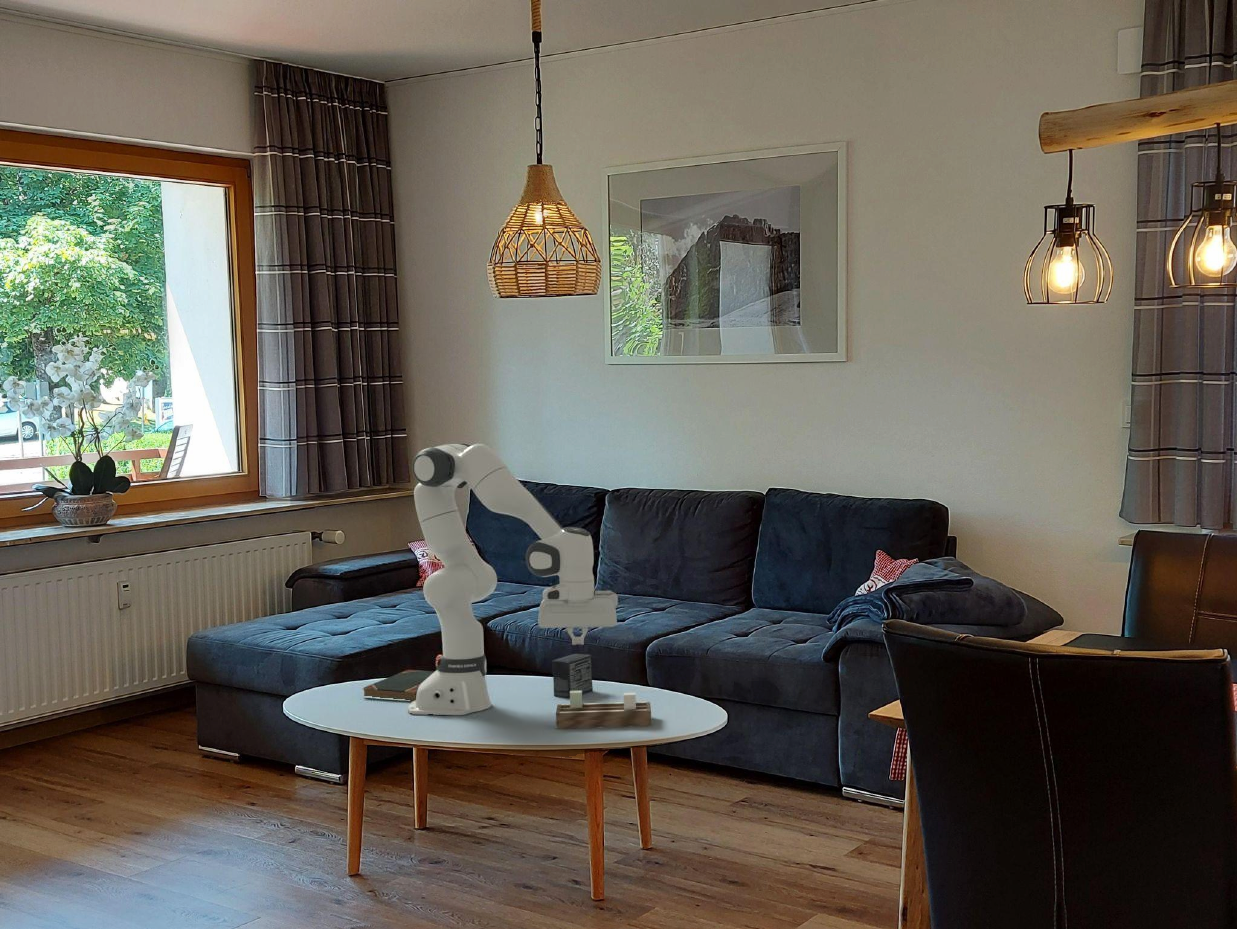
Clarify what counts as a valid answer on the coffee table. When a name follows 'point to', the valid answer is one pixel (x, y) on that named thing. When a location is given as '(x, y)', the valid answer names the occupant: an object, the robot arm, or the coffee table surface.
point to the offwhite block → (629, 701)
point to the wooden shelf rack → (602, 715)
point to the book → (398, 685)
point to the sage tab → (575, 699)
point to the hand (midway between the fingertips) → (577, 644)
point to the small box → (572, 675)
